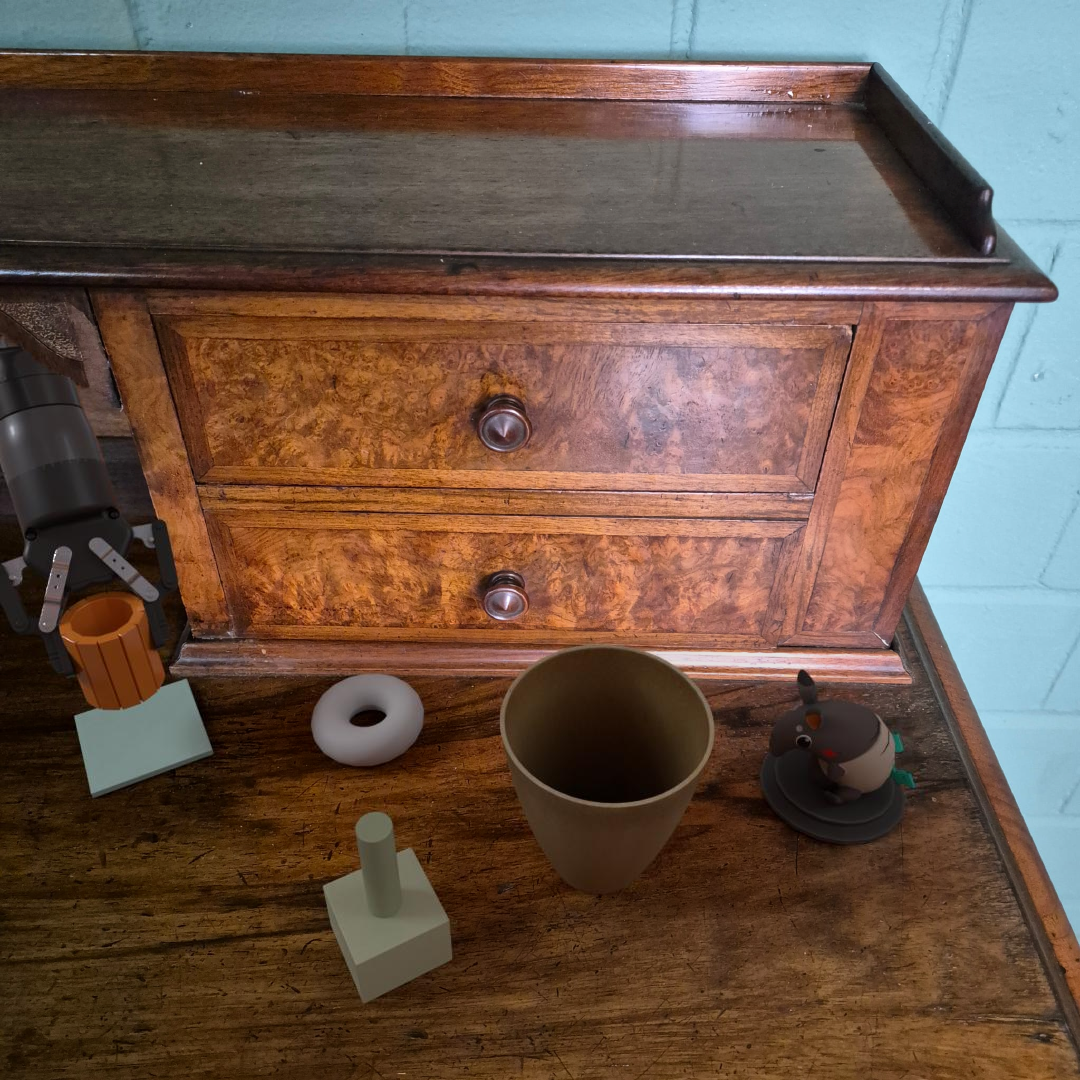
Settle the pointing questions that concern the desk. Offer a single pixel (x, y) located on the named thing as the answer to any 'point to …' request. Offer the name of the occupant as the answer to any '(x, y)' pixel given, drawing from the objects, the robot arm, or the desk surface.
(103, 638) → the pen holder
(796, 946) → the desk surface
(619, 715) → the plant pot
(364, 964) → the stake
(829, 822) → the figurine
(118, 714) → the mat
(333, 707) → the donut
